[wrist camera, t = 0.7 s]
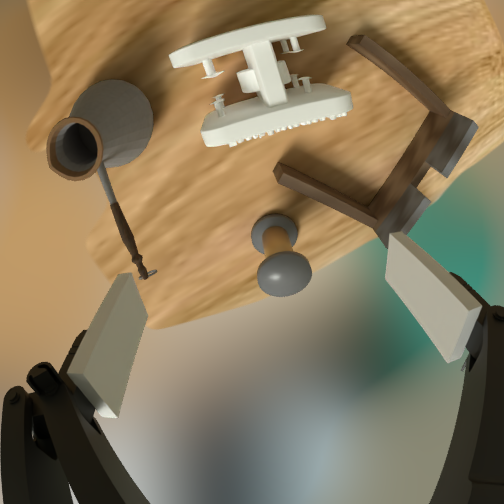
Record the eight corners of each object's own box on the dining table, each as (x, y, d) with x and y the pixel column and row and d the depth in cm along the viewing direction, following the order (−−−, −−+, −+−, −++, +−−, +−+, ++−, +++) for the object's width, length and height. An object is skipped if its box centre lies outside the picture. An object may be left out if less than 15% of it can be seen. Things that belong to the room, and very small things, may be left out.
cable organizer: (303, 23, 26) (336, 10, 17) (323, 98, 33) (361, 116, 23) (183, 55, 28) (163, 52, 19) (210, 129, 34) (205, 158, 25)
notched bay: (351, 36, 27) (385, 33, 20) (439, 109, 33) (478, 127, 26) (272, 171, 38) (285, 201, 31) (368, 217, 44) (393, 251, 37)
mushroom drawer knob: (264, 207, 42) (274, 248, 34) (304, 223, 44) (322, 265, 36) (243, 243, 45) (248, 289, 38) (282, 256, 48) (293, 301, 40)
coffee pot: (66, 106, 29) (-1, 141, 17) (136, 61, 27) (83, 66, 16) (136, 226, 42) (109, 297, 30) (203, 197, 40) (196, 267, 28)
